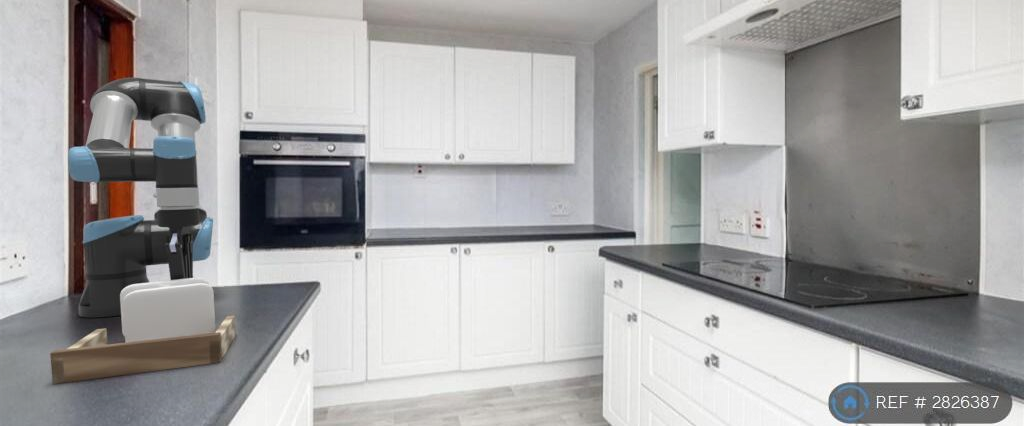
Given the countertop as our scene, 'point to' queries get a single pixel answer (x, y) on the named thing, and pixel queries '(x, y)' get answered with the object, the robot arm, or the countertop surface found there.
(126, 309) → the cable organizer
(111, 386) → the countertop surface
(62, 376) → the wooden tray
